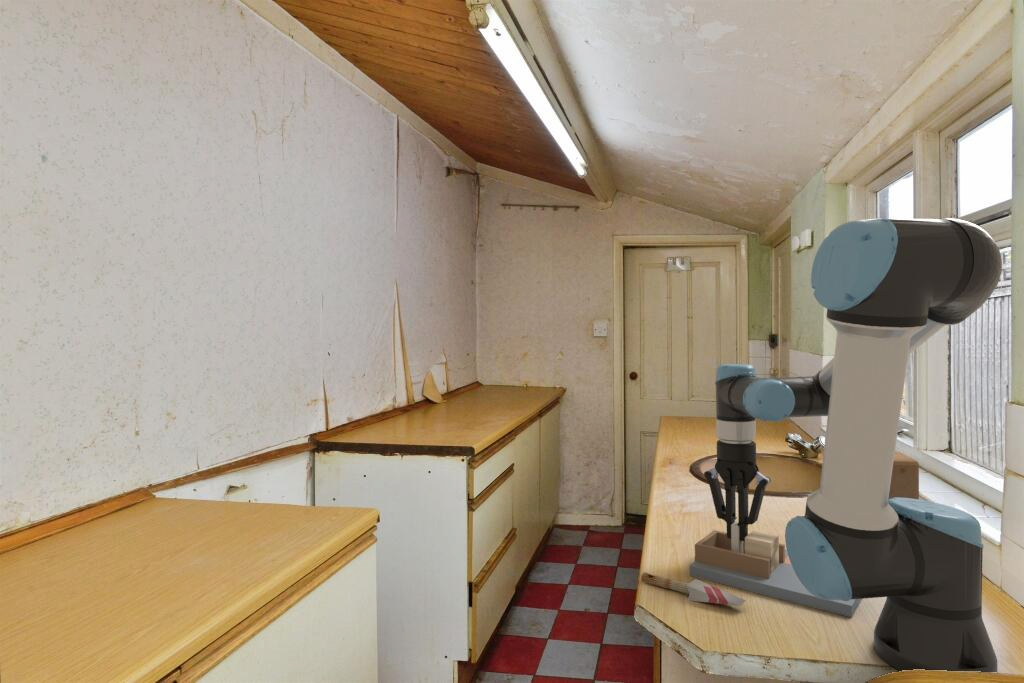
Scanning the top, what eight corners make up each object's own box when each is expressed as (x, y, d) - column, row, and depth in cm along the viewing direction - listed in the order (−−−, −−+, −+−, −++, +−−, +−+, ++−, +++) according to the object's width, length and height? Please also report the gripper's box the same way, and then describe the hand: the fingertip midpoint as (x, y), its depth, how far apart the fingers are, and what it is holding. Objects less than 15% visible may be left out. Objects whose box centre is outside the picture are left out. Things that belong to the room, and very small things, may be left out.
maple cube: (771, 573, 117) (771, 543, 117) (745, 567, 120) (744, 537, 120) (778, 565, 121) (778, 535, 121) (753, 559, 124) (753, 530, 124)
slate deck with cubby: (851, 617, 104) (851, 585, 103) (689, 575, 122) (689, 548, 122) (873, 578, 119) (872, 550, 119) (726, 545, 138) (725, 521, 137)
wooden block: (921, 552, 131) (920, 460, 131) (870, 549, 133) (870, 459, 133) (901, 536, 141) (901, 450, 141) (854, 534, 143) (853, 450, 143)
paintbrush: (738, 598, 105) (637, 573, 119) (739, 614, 105) (638, 587, 119) (747, 591, 108) (648, 567, 122) (748, 606, 108) (648, 580, 122)
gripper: (775, 440, 122) (776, 556, 122) (711, 434, 130) (713, 543, 131) (763, 446, 116) (764, 568, 117) (697, 439, 124) (699, 553, 125)
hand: (737, 555), depth 124 cm, fingers closed
